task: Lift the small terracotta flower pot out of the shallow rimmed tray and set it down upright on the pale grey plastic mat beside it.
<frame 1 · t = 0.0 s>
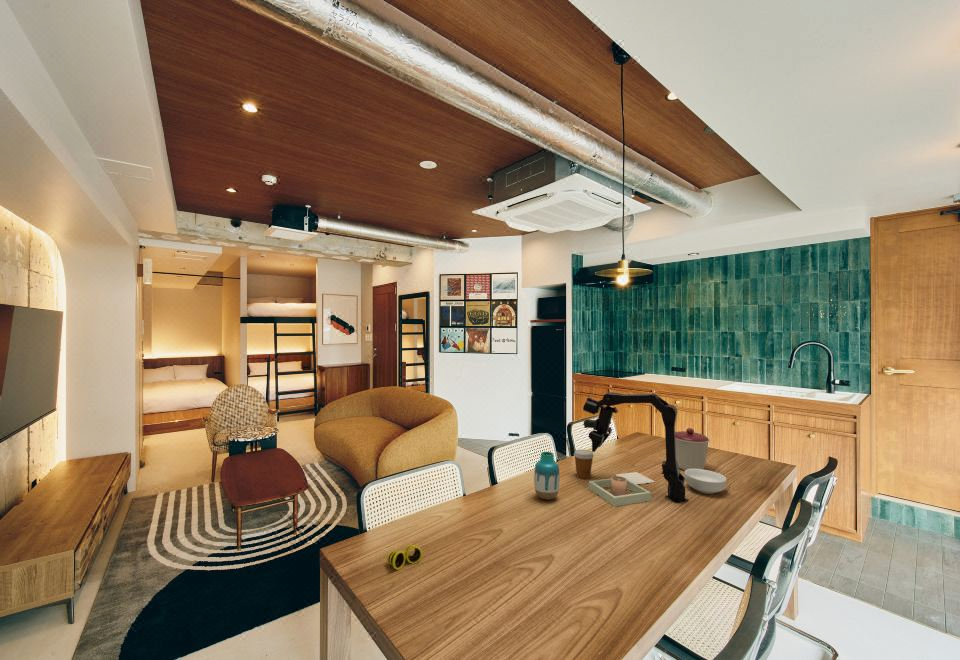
hand: (595, 449, 188), 15 cm above the table, tool pointing down, fingers open, 9 cm apart
canister: (689, 468, 208), on the table
shallow rimmed tray: (618, 494, 174), on the table
cereal bowl: (704, 490, 180), on the table
terracotta pot: (618, 486, 174), in the shallow rimmed tray
vase: (546, 498, 170), on the table
potting mat: (634, 479, 193), on the table
disposable coffee cup: (583, 476, 195), on the table
opera glasses: (404, 563, 122), on the table
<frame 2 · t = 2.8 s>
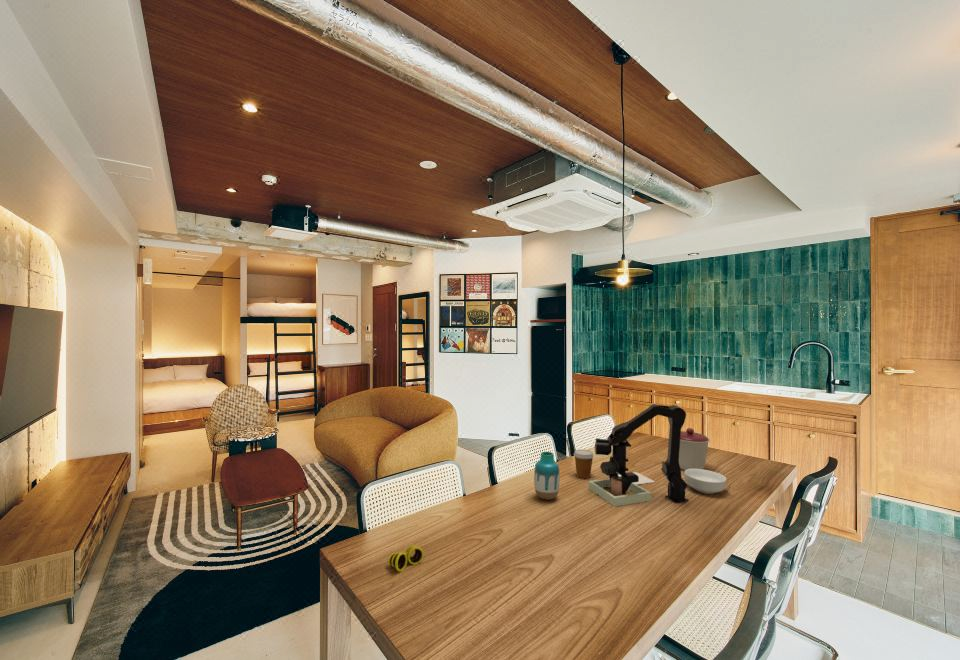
hand: (618, 491, 174), 2 cm above the table, tool pointing down, fingers closed on terracotta pot, 6 cm apart
terracotta pot: (618, 486, 174), in the shallow rimmed tray, touching gripper
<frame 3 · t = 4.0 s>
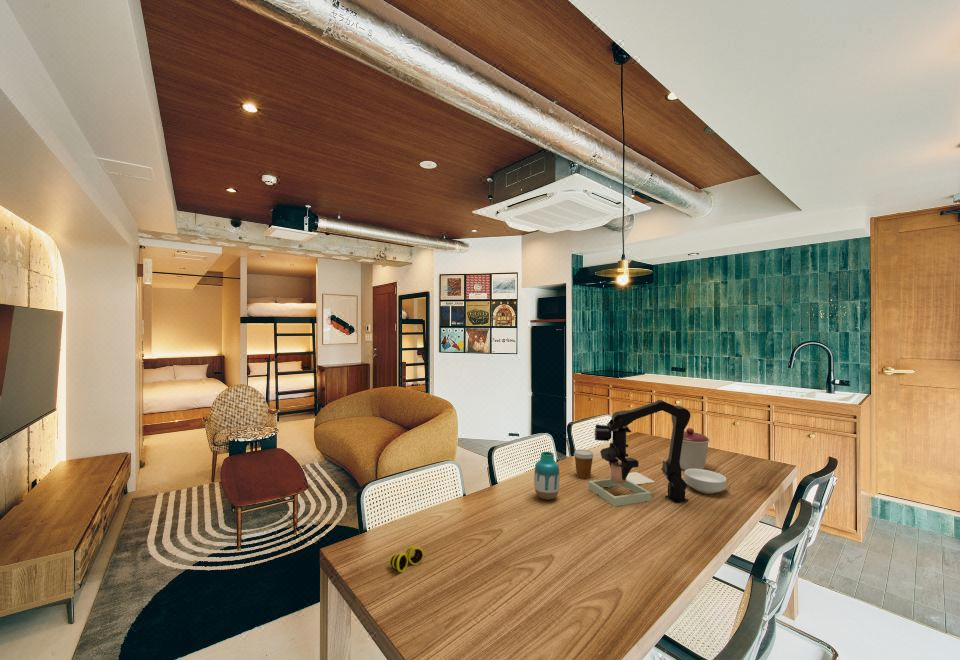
hand: (618, 477, 174), 8 cm above the table, tool pointing down, fingers closed on terracotta pot, 6 cm apart
terracotta pot: (618, 472, 174), point 10 cm above the table, touching gripper
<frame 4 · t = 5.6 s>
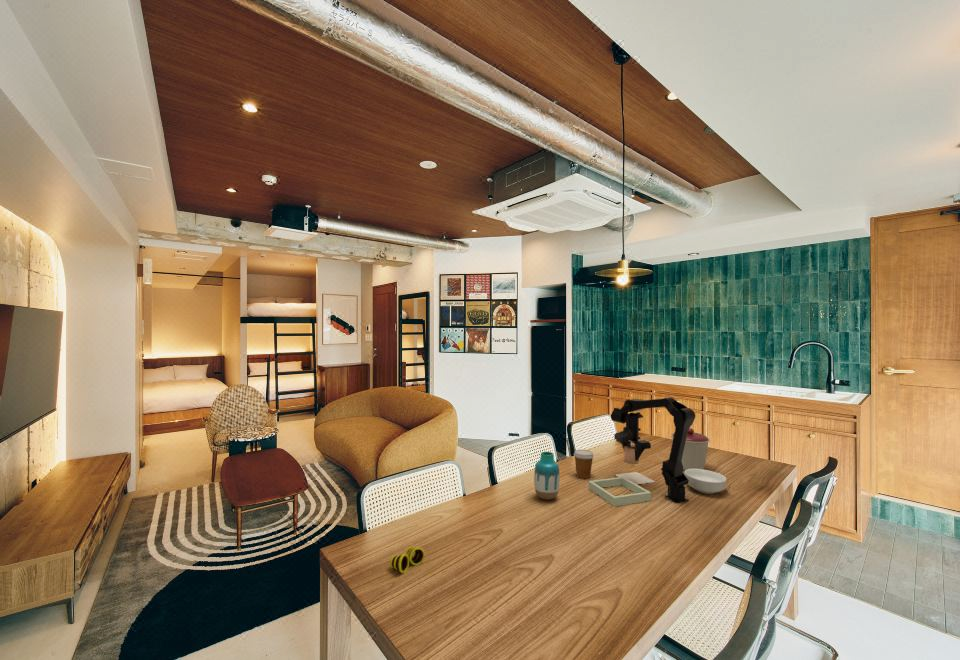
hand: (631, 458, 189), 11 cm above the table, tool pointing down, fingers closed on terracotta pot, 6 cm apart
terracotta pot: (631, 454, 189), point 13 cm above the table, touching gripper
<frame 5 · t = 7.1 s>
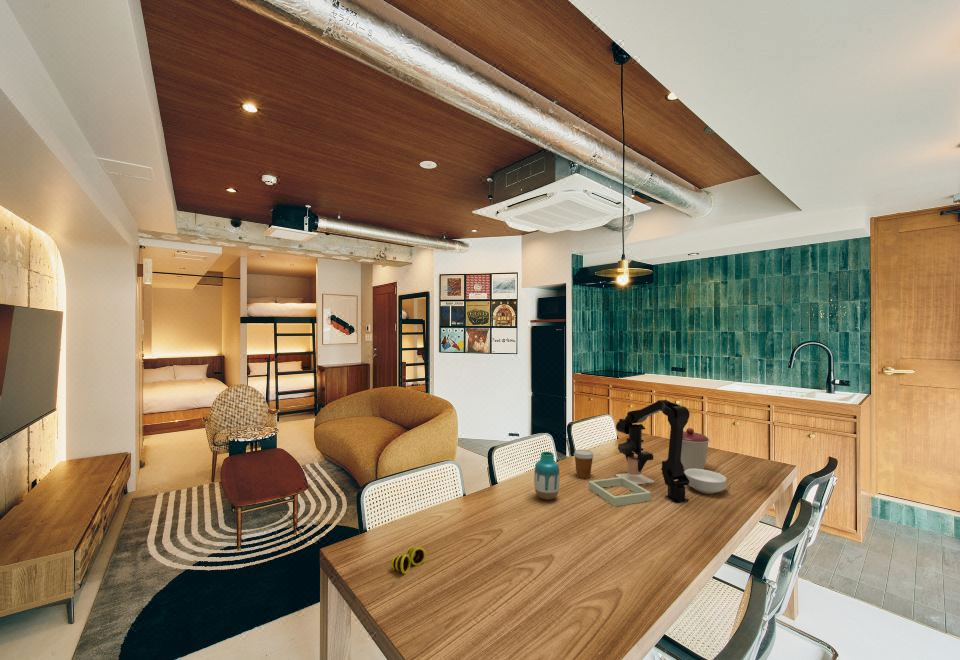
hand: (634, 469, 192), 5 cm above the table, tool pointing down, fingers closed on terracotta pot, 6 cm apart
terracotta pot: (634, 465, 192), point 7 cm above the table, touching gripper
when the fingers open (3 cm above the table, at t = 8.3 s): terracotta pot drops 1 cm, resting on potting mat.
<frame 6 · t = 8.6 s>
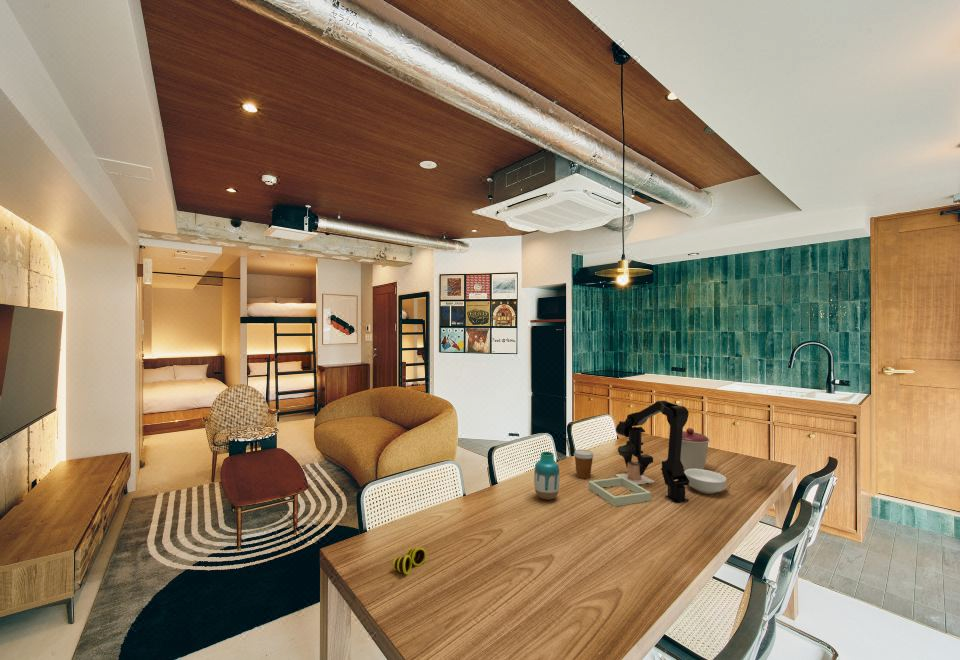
hand: (634, 471, 193), 3 cm above the table, tool pointing down, fingers open, 9 cm apart
terracotta pot: (634, 470, 192), on the potting mat
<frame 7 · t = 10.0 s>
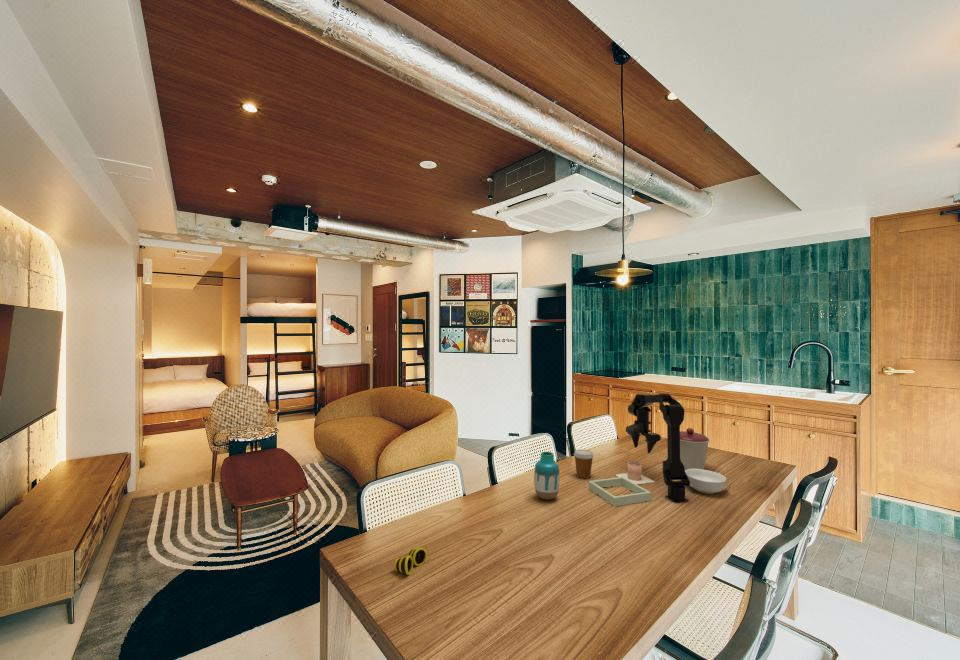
hand: (642, 450, 199), 12 cm above the table, tool pointing down, fingers open, 9 cm apart
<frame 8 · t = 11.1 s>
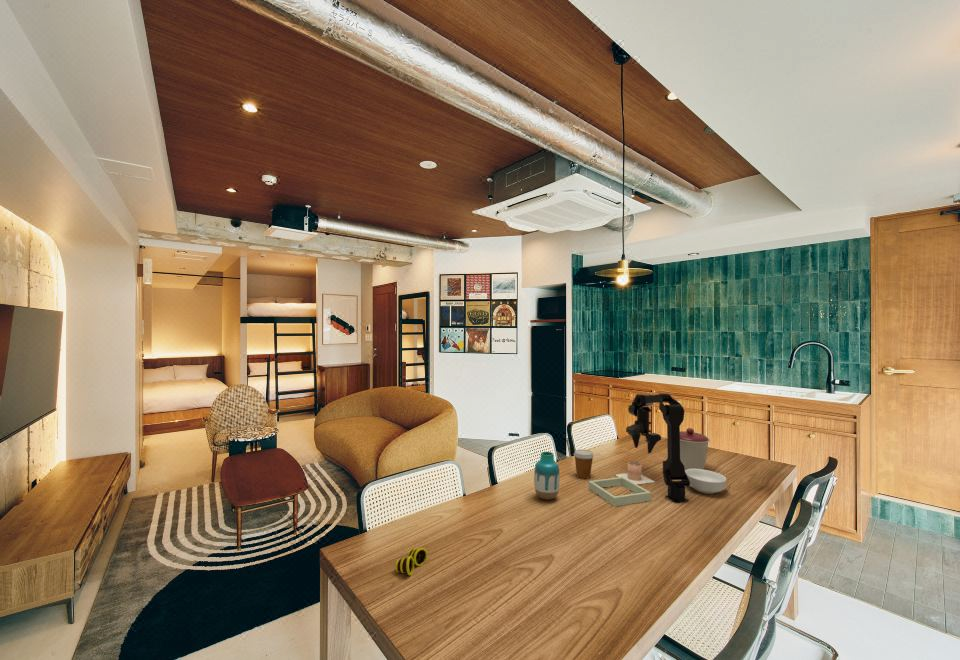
hand: (642, 450, 199), 12 cm above the table, tool pointing down, fingers open, 9 cm apart
at the end: terracotta pot inside the target area on the potting mat (0.1 cm from its centre), point 4.1 cm above the potting mat's base; terracotta pot tilted 0°; the gripper is holding nothing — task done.
